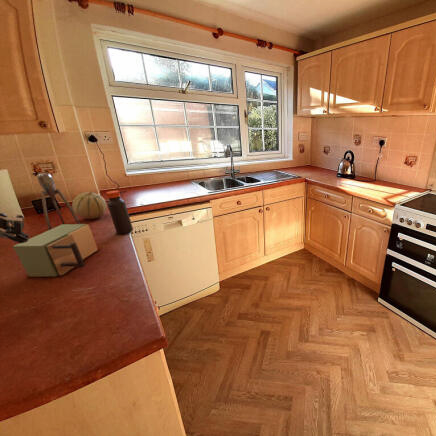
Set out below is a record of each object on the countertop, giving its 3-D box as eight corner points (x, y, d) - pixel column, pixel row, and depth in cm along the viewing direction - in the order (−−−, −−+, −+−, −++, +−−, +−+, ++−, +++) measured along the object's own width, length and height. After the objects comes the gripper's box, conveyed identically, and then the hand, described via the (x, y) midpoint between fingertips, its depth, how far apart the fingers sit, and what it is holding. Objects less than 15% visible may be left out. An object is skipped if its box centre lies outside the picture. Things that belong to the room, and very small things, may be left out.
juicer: (84, 233, 117) (60, 171, 106) (53, 241, 109) (24, 176, 98) (81, 228, 123) (58, 169, 112) (51, 235, 116) (24, 173, 104)
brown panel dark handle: (59, 275, 84) (45, 245, 80) (81, 261, 92) (69, 233, 88) (83, 275, 84) (71, 245, 79) (103, 261, 92) (92, 233, 88)
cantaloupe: (84, 215, 141) (75, 190, 135) (113, 211, 145) (105, 187, 139) (72, 224, 128) (61, 197, 122) (104, 220, 132) (95, 194, 126)
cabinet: (28, 276, 85) (12, 246, 80) (72, 250, 101) (61, 224, 97) (58, 276, 84) (44, 245, 80) (98, 250, 101) (88, 224, 96)
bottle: (127, 228, 122) (115, 189, 114) (136, 229, 119) (124, 190, 112) (113, 233, 116) (100, 193, 109) (123, 235, 114) (109, 194, 106)
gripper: (-6, 187, 56) (54, 223, 71) (-75, 197, 54) (2, 233, 69) (-18, 214, 53) (48, 246, 68) (-92, 226, 51) (-7, 257, 65)
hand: (25, 239), depth 68 cm, fingers closed
